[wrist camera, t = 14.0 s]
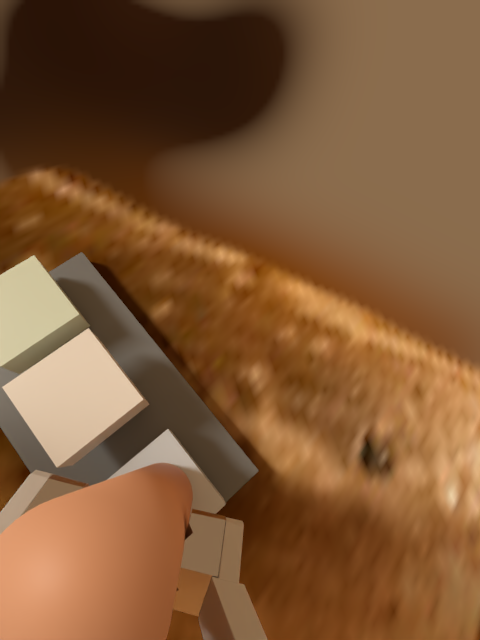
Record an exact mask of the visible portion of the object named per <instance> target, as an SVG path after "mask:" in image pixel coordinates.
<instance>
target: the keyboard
mask: <svg viewBox="0 0 480 640" xmlns="http://www.w3.org/2000/svg"><path fill="white" fill-rule="evenodd" d="M49 273H50V274H51V276H52V277H53V278H54V280H55V281H56V282H57V283H58V285H59V286H60V287H61V289H62V290H63V291H64V293H65V294H66V295H67V296H68V298H69V299H70V300H71V302H72V303H73V304H74V305H75V307H76V308H77V309H78V311H79V312H80V313H81V315H82V316H83V317H84V318H85V320H86V321H87V322H88V324H89V325H90V327H88V328H89V329H90V330H91V331H92V332H93V333H94V334H95V335H96V336H97V337H98V338H99V340H100V341H101V342H102V343H103V345H104V346H105V347H106V349H107V350H108V351H109V352H110V354H111V355H112V356H113V358H114V359H115V360H116V362H117V363H118V364H119V365H120V367H121V368H122V369H123V371H124V372H125V373H126V375H127V376H128V377H129V378H130V380H131V381H132V382H133V384H134V385H135V386H136V387H137V389H138V390H139V391H140V393H141V394H142V395H143V397H144V398H145V399H146V400H147V402H148V403H149V405H148V406H147V407H145V408H144V409H143V410H142V411H140V412H139V413H138V414H137V415H135V416H134V417H133V418H132V419H130V420H129V421H128V422H127V423H125V424H124V425H123V426H122V427H120V428H119V429H118V430H117V431H115V432H114V433H113V434H112V435H110V436H109V437H108V438H107V439H105V440H104V441H103V442H102V443H100V444H99V445H98V446H96V447H95V448H94V449H93V450H91V451H90V452H89V453H88V454H86V455H85V456H84V457H83V458H81V459H80V460H79V461H78V462H76V463H75V464H74V465H72V466H65V467H59V468H57V467H56V466H55V464H54V463H53V461H52V460H51V458H50V457H49V455H48V454H47V453H46V451H45V450H44V448H43V447H42V445H41V444H40V442H39V441H38V439H37V438H36V436H35V435H34V433H33V432H32V430H31V429H30V428H29V426H28V425H27V423H26V422H25V420H24V419H23V417H22V416H21V414H20V413H19V411H18V410H17V408H16V407H15V406H14V404H13V403H12V401H11V400H10V398H9V397H8V395H7V394H6V392H5V391H4V389H3V388H2V387H3V386H4V385H6V384H7V383H9V382H10V381H12V380H13V379H15V378H16V377H18V376H19V375H21V374H22V373H23V372H22V373H21V374H18V373H15V372H13V371H10V370H8V369H5V368H3V367H0V427H1V429H2V430H3V432H4V433H5V435H6V436H7V438H8V439H9V441H10V442H11V444H12V445H13V447H14V448H15V450H16V451H17V453H18V455H19V456H20V458H21V459H22V461H23V462H24V464H25V465H26V467H27V468H28V470H29V471H30V473H32V472H33V471H35V470H39V471H43V472H47V473H51V474H54V475H58V476H62V477H66V478H69V479H73V480H77V481H81V482H84V483H88V484H89V486H91V485H94V484H97V483H100V482H103V481H106V480H107V479H108V478H109V477H111V476H112V475H113V474H114V473H115V472H117V471H118V470H119V469H120V468H121V467H123V466H124V465H125V464H126V463H127V462H129V461H130V460H131V459H132V458H133V457H135V456H136V455H137V454H138V453H139V452H141V451H142V450H143V449H144V448H145V447H147V446H148V445H149V444H150V443H151V442H153V441H154V440H155V439H156V438H157V437H159V436H160V435H161V434H162V433H163V432H165V431H166V430H167V429H169V430H171V431H172V432H173V434H174V435H175V436H176V438H177V439H178V440H179V441H180V443H181V444H182V445H183V447H184V448H185V449H186V450H187V452H188V453H189V454H190V456H191V457H192V458H193V460H194V461H195V462H196V463H197V465H198V466H199V467H200V469H201V470H202V471H203V472H204V474H205V475H206V476H207V478H208V479H209V480H210V482H211V483H212V484H213V485H214V487H215V488H216V489H217V491H218V492H219V493H220V494H221V496H222V497H223V498H224V501H225V503H226V502H227V501H228V500H229V499H230V498H231V497H232V496H233V495H234V494H235V493H236V492H237V491H238V490H239V489H240V488H241V487H242V486H243V485H245V484H246V483H247V482H248V481H249V480H250V479H251V478H252V477H253V476H254V475H255V474H256V473H257V472H258V471H259V470H258V469H257V468H256V467H255V465H254V464H253V463H252V462H251V460H250V459H249V458H248V457H247V455H246V454H245V453H244V452H243V451H242V449H241V448H240V447H239V446H238V444H237V443H236V442H235V441H234V439H233V438H232V437H231V436H230V434H229V433H228V432H227V431H226V430H225V428H224V427H223V426H222V425H221V423H220V422H219V421H218V420H217V418H216V417H215V416H214V415H213V413H212V412H211V411H210V410H209V408H208V407H207V406H206V405H205V404H204V402H203V401H202V400H201V399H200V397H199V396H198V395H197V394H196V392H195V391H194V390H193V389H192V387H191V386H190V385H189V384H188V383H187V381H186V380H185V379H184V378H183V376H182V375H181V374H180V373H179V371H178V370H177V369H176V368H175V366H174V365H173V364H172V363H171V362H170V360H169V359H168V358H167V357H166V355H165V354H164V353H163V352H162V350H161V349H160V348H159V347H158V345H157V344H156V343H155V342H154V340H153V339H152V338H151V337H150V336H149V334H148V333H147V332H146V331H145V329H144V328H143V327H142V326H141V324H140V323H139V322H138V321H137V319H136V318H135V317H134V316H133V315H132V313H131V312H130V311H129V310H128V308H127V307H126V306H125V305H124V303H123V302H122V301H121V300H120V298H119V297H118V296H117V295H116V293H115V292H114V291H113V290H112V289H111V287H110V286H109V285H108V284H107V282H106V281H105V280H104V279H103V277H102V276H101V275H100V274H99V272H98V271H97V270H96V269H95V268H94V266H93V265H92V264H91V263H90V261H89V260H88V259H87V258H86V256H85V255H84V254H83V253H82V252H81V253H80V254H78V255H76V256H75V257H73V258H71V259H70V260H68V261H66V262H65V263H63V264H62V265H60V266H58V267H57V268H55V269H53V270H52V271H50V272H49ZM88 328H87V329H88ZM85 330H86V329H85ZM85 330H84V331H85ZM82 332H83V331H82ZM82 332H81V333H82ZM79 334H80V333H79ZM79 334H78V335H79ZM78 335H76V336H78ZM76 336H75V337H76ZM75 337H73V338H75ZM73 338H72V339H73ZM72 339H71V340H72ZM69 341H70V340H69ZM69 341H68V342H69ZM66 343H67V342H66ZM66 343H65V344H66ZM63 345H64V344H63ZM63 345H62V346H63ZM60 347H61V346H60ZM60 347H59V348H60ZM59 348H57V349H59ZM57 349H56V350H57ZM56 350H54V351H56ZM54 351H53V352H54ZM53 352H52V353H53ZM50 354H51V353H50ZM50 354H49V355H50ZM47 356H48V355H47ZM47 356H46V357H47ZM44 358H45V357H44ZM44 358H43V359H44ZM41 360H42V359H41ZM41 360H40V361H41ZM40 361H38V362H40ZM38 362H37V363H38ZM37 363H35V364H37ZM35 364H34V365H35ZM34 365H32V366H34ZM32 366H31V367H32ZM31 367H30V368H31ZM28 369H29V368H28ZM28 369H27V370H28ZM25 371H26V370H25ZM25 371H24V372H25Z"/></svg>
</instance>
